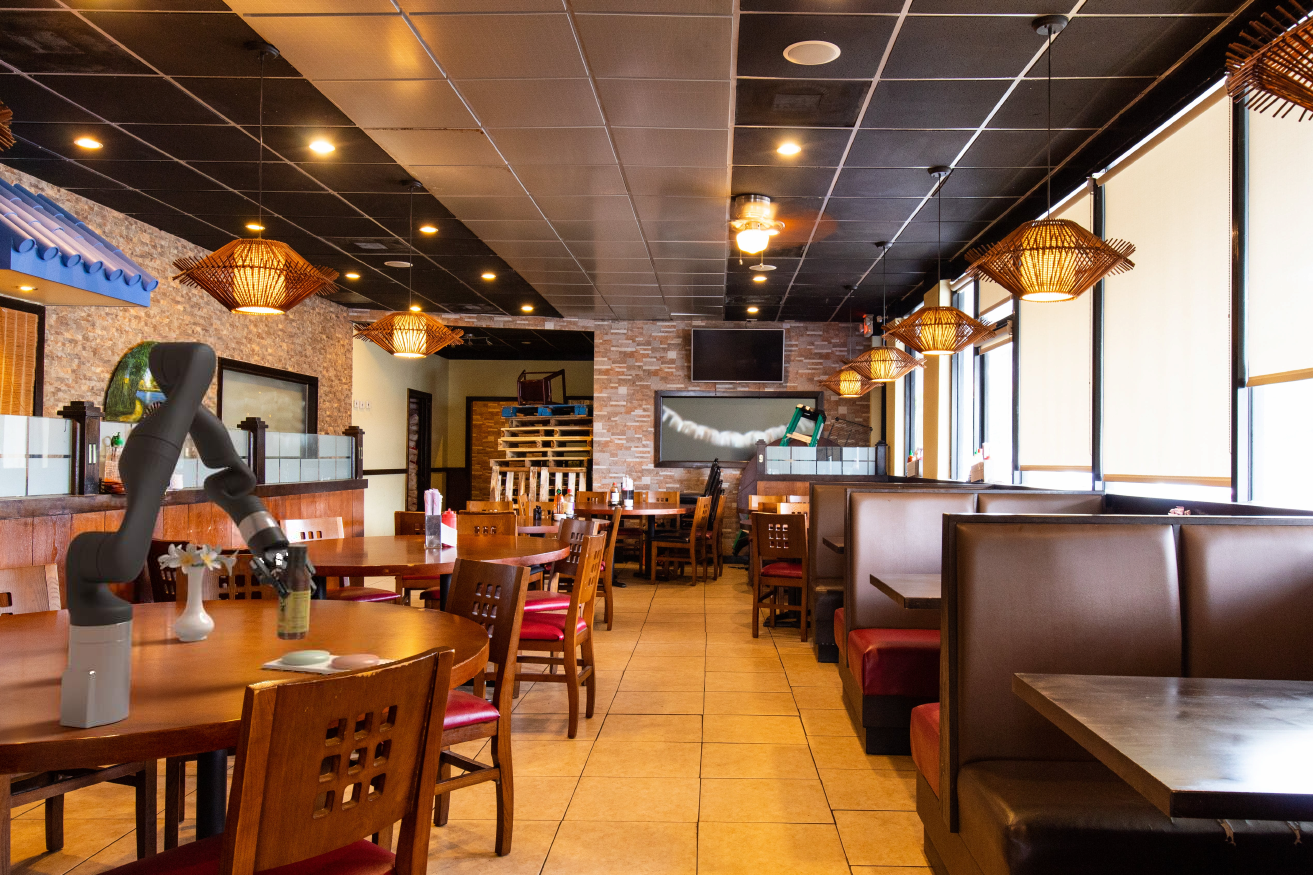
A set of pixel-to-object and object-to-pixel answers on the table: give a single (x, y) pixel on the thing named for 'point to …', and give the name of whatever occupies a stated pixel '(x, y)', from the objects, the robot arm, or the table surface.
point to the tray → (324, 662)
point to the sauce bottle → (295, 596)
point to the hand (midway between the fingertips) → (300, 594)
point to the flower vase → (195, 587)
